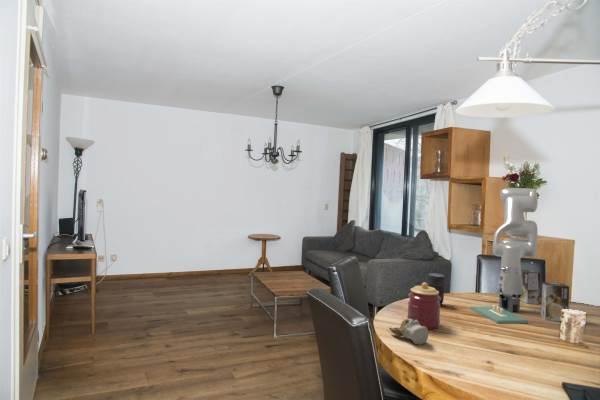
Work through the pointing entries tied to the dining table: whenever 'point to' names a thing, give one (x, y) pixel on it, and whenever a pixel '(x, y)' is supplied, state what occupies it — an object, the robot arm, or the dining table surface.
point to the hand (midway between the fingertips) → (509, 307)
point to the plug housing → (511, 303)
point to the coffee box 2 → (554, 300)
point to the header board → (499, 314)
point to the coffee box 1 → (530, 286)
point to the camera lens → (437, 284)
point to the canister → (424, 306)
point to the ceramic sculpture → (412, 331)
